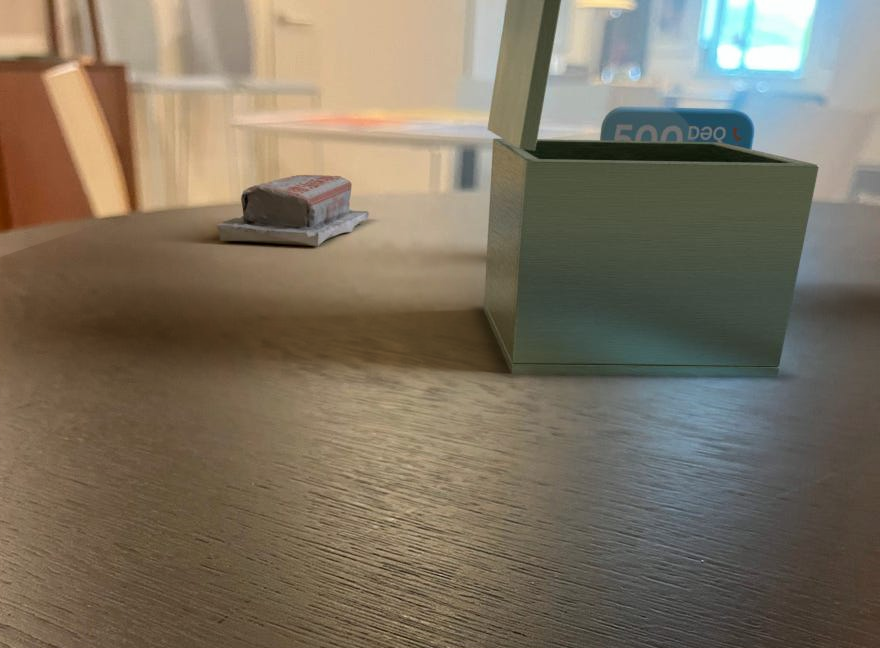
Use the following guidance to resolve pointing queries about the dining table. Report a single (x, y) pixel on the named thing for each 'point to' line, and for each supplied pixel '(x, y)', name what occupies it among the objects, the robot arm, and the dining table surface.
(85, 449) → the dining table surface
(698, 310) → the bin
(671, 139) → the data package
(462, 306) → the dining table surface
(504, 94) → the bin lid
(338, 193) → the packaged product
